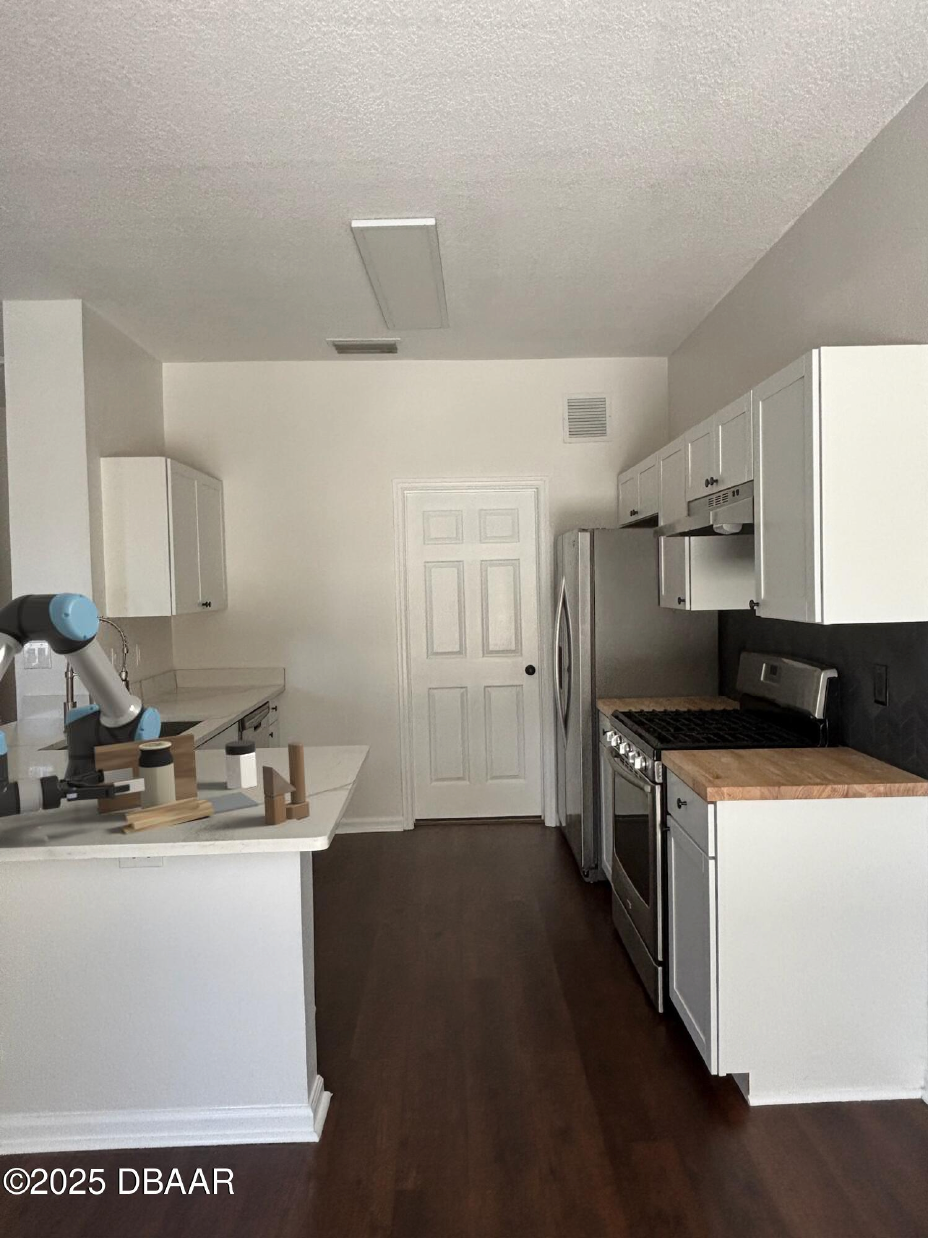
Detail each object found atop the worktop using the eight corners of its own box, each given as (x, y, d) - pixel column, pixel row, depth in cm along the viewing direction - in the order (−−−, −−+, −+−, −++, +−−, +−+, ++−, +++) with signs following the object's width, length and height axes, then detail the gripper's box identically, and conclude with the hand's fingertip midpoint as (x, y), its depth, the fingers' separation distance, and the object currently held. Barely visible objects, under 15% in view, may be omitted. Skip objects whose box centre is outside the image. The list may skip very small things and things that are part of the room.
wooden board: (97, 813, 209) (92, 746, 208) (194, 796, 222) (190, 732, 221) (99, 816, 206) (95, 748, 205) (197, 799, 219) (193, 734, 218)
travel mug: (156, 823, 199) (151, 749, 198) (135, 819, 203) (130, 746, 202) (183, 814, 206) (179, 742, 204) (162, 810, 210) (158, 740, 209)
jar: (220, 788, 229) (217, 745, 228) (236, 781, 237) (234, 739, 236) (248, 790, 226) (246, 746, 226) (264, 782, 234) (262, 740, 233)
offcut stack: (121, 831, 194) (119, 815, 193) (207, 809, 205) (205, 793, 204) (127, 837, 189) (124, 820, 189) (214, 814, 200) (212, 798, 199)
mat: (187, 806, 213) (186, 801, 213) (240, 796, 220) (240, 792, 220) (202, 819, 201) (202, 814, 201) (258, 808, 209) (258, 803, 209)
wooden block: (264, 825, 194) (261, 749, 193) (300, 814, 202) (296, 740, 201) (275, 828, 192) (271, 751, 191) (310, 816, 200) (306, 742, 199)
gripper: (35, 798, 200) (128, 783, 211) (47, 823, 179) (150, 805, 190) (33, 768, 200) (126, 754, 211) (45, 789, 179) (148, 773, 190)
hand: (138, 778), depth 201 cm, fingers open, 13 cm apart
